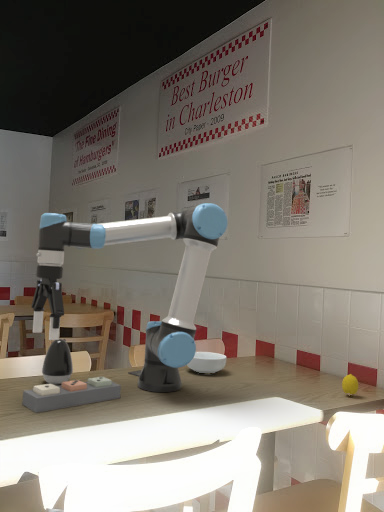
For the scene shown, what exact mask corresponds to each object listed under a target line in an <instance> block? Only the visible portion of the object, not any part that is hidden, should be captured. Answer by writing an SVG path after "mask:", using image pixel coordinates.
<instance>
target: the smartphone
mask: <svg viewBox="0 0 384 512" xmlns="http://www.w3.org/2000/svg"><path fill="white" fill-rule="evenodd" d="M141 371H142V369H139V370H133V371H128V372H127V374H129V375H131V376H135V377H138V378H139V376H140V374H141Z"/></svg>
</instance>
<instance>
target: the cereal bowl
mask: <svg viewBox="0 0 384 512" xmlns="http://www.w3.org/2000/svg"><path fill="white" fill-rule="evenodd" d="M226 364H227V356H226V355H225V354H222V353H218V352H210V351H196V352H195V355H194V358H193V359H192V360H191V362H190V363H188V364H187V365H186V366H187V367H188V368H189V369H191V370H192V371H194V372H195V371H196V372H199V373H214V374H215V373H216V372H219V371H221V370H223V369H224V368H225V366H226ZM196 372H195V373H196ZM199 373H198V374H199Z"/></svg>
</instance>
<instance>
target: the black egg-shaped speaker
mask: <svg viewBox="0 0 384 512" xmlns="http://www.w3.org/2000/svg"><path fill="white" fill-rule="evenodd" d="M73 371H74V368H73V358H72V353H71V350H70V346H69V344H68V342H67V340H66V338H63V339H62V338H59V340H52V342H51V343H50V345H49V346H48V348H47V351H46V353H45V357H44V360H43V364H42V368H41V373H42V376H43V379H44V381H45V382H46V384H53V385H55V386H61V385H62V382H66V381H70V379H71V376H72V374H73Z"/></svg>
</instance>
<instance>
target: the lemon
mask: <svg viewBox="0 0 384 512" xmlns="http://www.w3.org/2000/svg"><path fill="white" fill-rule="evenodd" d="M341 388H342V391H343V392H344V393H345V394H346V393H350V394H354V395H355V394H357V392H358V390H359V381H358V378H357V377H356V376H354V375H353V374H352V373H350V374H346V375H345V376H344V377H343V379H342V382H341Z"/></svg>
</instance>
